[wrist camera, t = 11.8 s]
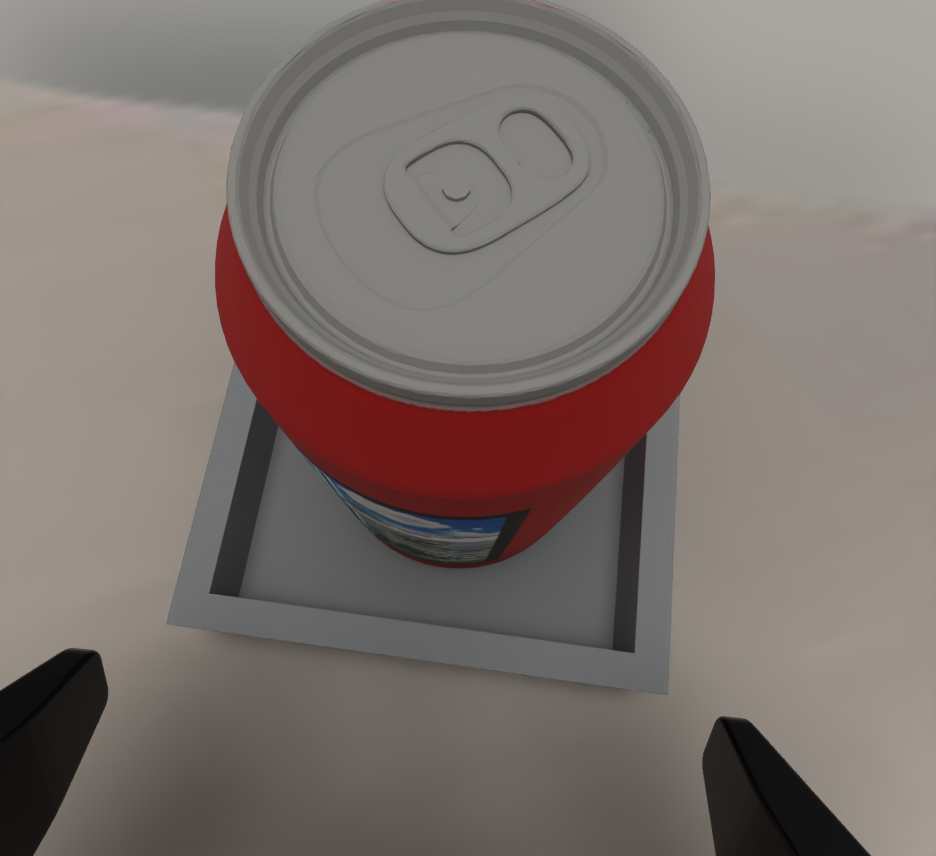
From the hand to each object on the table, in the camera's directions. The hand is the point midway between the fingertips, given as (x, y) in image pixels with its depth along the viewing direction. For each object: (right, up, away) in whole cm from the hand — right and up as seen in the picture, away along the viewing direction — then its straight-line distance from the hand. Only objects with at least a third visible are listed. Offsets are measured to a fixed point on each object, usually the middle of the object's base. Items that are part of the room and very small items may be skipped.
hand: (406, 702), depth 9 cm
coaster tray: (0, +3, +10) cm, 11 cm away
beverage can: (+1, +3, +9) cm, 10 cm away
